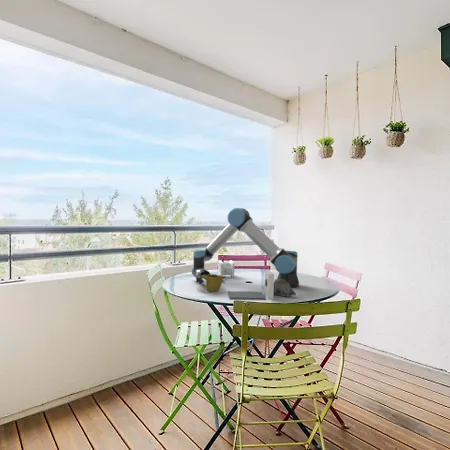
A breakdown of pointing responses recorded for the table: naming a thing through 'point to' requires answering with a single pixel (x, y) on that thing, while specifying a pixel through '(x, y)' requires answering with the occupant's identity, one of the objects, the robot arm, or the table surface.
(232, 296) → the mat
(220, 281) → the flower pot
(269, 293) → the wall socket block
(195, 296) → the table surface
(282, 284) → the mineral rock
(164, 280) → the table surface
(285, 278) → the robot arm
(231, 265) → the cable organizer
